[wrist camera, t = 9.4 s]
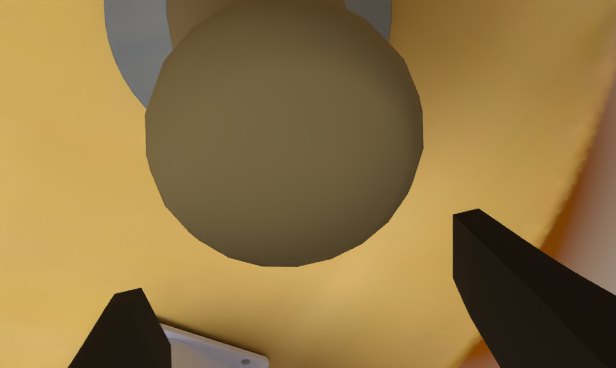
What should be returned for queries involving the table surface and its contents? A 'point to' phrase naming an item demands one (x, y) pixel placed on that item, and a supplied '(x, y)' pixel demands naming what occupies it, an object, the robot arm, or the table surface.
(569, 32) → the table surface
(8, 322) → the table surface
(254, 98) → the brown chess pawn
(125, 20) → the slate coaster
